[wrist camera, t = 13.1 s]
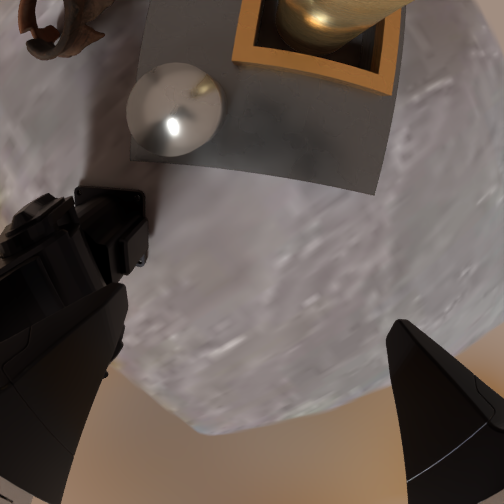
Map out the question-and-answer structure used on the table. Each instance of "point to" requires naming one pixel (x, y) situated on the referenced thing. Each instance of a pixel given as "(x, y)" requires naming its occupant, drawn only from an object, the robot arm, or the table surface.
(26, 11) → the pottery mug
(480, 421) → the robot arm
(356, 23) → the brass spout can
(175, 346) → the table surface
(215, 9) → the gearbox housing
